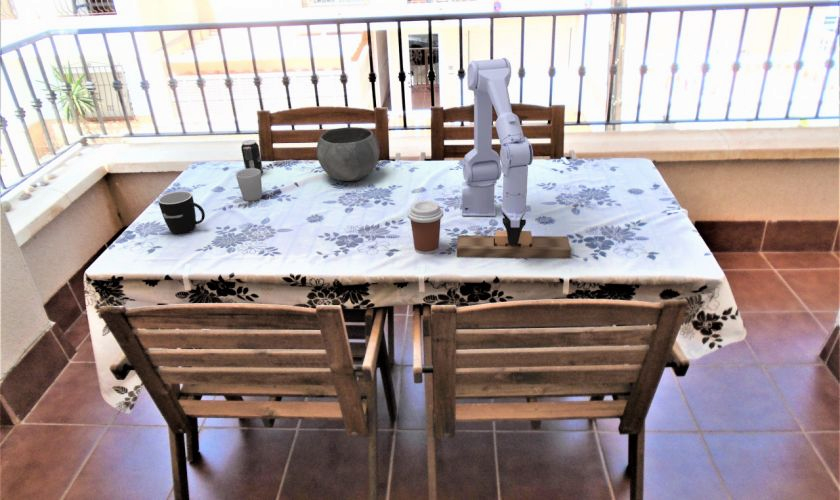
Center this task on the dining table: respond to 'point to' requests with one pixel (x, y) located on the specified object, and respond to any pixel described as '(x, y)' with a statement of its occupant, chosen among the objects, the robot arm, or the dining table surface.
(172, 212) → the mug
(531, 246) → the rail
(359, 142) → the bowl
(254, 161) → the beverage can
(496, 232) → the clip
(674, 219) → the dining table surface
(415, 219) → the coffee cup
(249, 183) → the cup
